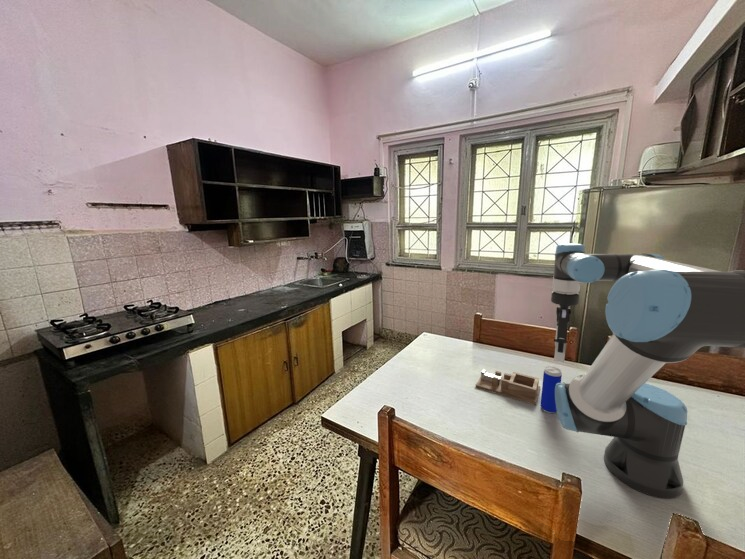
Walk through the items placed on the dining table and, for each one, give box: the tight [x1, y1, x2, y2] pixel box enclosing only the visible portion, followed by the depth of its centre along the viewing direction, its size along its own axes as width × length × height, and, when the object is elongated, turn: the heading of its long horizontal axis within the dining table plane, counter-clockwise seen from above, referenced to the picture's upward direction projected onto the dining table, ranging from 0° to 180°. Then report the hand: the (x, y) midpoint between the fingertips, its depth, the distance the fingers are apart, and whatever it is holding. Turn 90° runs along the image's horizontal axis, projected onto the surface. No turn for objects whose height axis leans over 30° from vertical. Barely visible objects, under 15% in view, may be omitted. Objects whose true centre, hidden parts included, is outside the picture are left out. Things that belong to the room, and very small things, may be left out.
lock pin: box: [480, 368, 502, 384], centre depth 118 cm, size 3×7×3 cm, turn 55°
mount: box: [475, 370, 541, 406], centre depth 115 cm, size 12×21×5 cm, turn 55°
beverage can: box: [540, 365, 563, 414], centre depth 100 cm, size 5×5×15 cm
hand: (559, 352), depth 100 cm, fingers open, 13 cm apart
